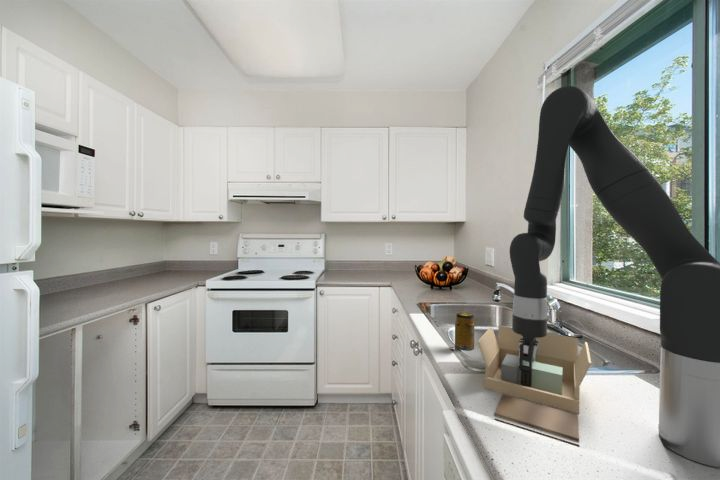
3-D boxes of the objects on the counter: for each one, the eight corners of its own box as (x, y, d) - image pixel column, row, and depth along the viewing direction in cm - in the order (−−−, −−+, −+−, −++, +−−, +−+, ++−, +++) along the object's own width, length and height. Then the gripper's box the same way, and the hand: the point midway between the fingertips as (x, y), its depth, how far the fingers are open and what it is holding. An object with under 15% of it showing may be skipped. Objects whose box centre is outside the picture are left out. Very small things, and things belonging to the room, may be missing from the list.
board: (577, 421, 62) (577, 414, 62) (578, 447, 55) (579, 438, 55) (502, 400, 70) (502, 394, 70) (494, 420, 63) (494, 412, 63)
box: (562, 385, 76) (562, 365, 76) (561, 399, 69) (562, 377, 69) (506, 372, 83) (506, 353, 82) (501, 384, 76) (501, 364, 76)
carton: (585, 385, 78) (586, 339, 78) (590, 421, 63) (591, 364, 62) (491, 363, 90) (492, 324, 90) (475, 389, 75) (476, 341, 75)
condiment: (463, 345, 106) (464, 310, 106) (484, 353, 98) (485, 316, 98) (448, 349, 102) (448, 313, 102) (468, 358, 95) (469, 319, 95)
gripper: (545, 323, 68) (543, 396, 68) (548, 310, 80) (547, 372, 80) (508, 318, 72) (506, 386, 72) (516, 306, 84) (515, 365, 84)
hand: (527, 379), depth 76 cm, fingers open, 8 cm apart
